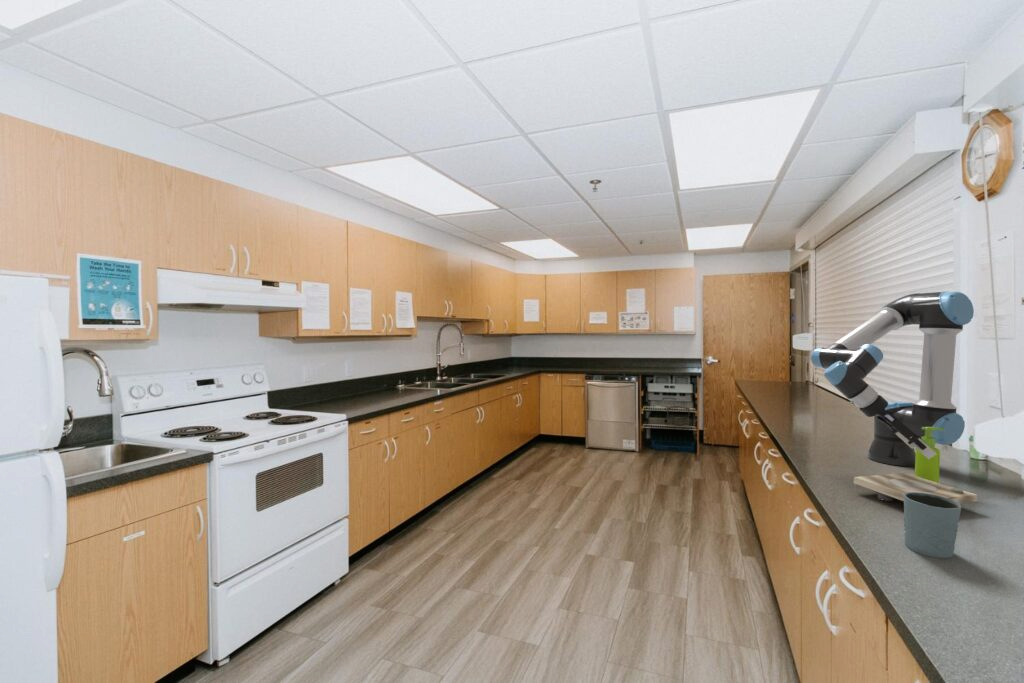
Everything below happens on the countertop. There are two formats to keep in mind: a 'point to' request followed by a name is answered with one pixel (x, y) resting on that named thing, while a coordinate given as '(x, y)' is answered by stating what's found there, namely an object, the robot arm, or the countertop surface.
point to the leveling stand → (911, 487)
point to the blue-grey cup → (930, 524)
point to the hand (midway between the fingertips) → (923, 451)
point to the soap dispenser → (924, 465)
